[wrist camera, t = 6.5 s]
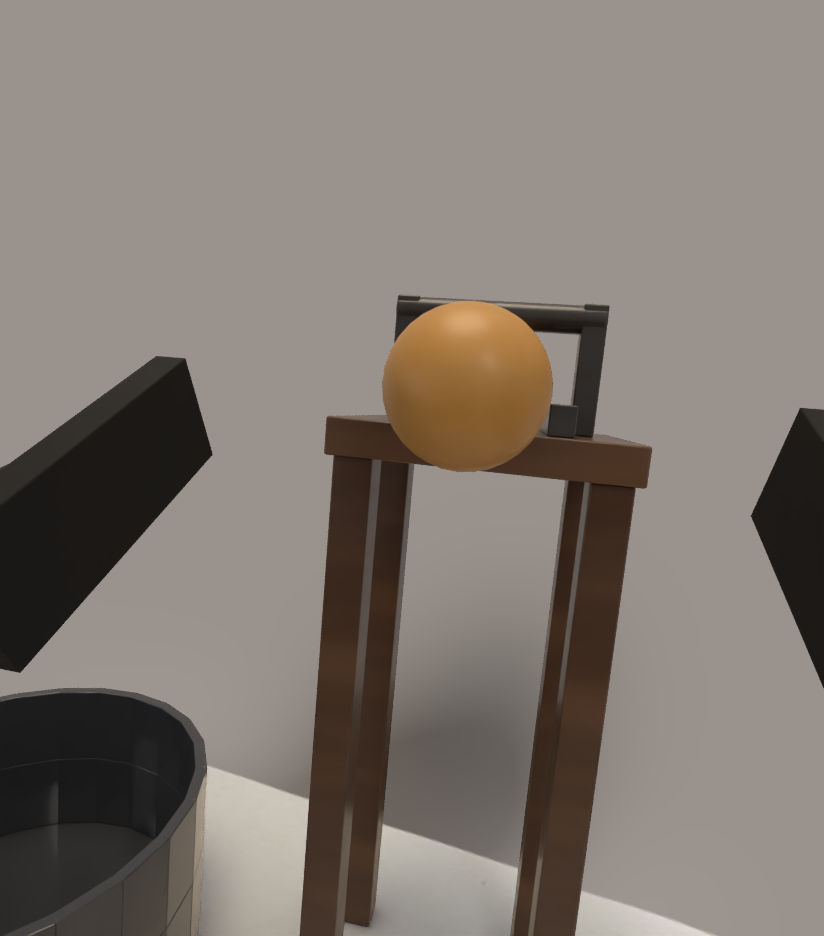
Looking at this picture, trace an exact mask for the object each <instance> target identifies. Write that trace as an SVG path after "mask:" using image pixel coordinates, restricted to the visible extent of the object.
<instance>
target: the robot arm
mask: <svg viewBox="0 0 824 936" xmlns="http://www.w3.org/2000/svg"><path fill="white" fill-rule="evenodd" d="M211 456H212V451H211V447H210V444H209V440H208V437H207V433H206V429H205V426H204V423H203V419H202V416H201V412H200V409H199V405H198V402H197V398H196V394H195V391H194V387H193V384H192V380H191V377H190V373H189V370H188V367H187V363H186V359H184V358H173V357H160V356H156V357H155V358H153V359H152V360H150V361H149V362H148V363H146V364H145V365H144V366H142V367H141V368H140V369H138V370H137V371H135V372H134V373H133V374H131V375H130V376H129V377H127V378H126V379H124V380H123V381H122V382H120V383H119V384H118V385H116V386H115V387H114V388H112V389H111V390H110V391H108V392H107V393H105V394H104V395H103V396H101V397H100V398H98V399H97V400H96V401H94V402H93V403H92V404H90V405H89V406H88V407H86V408H85V409H84V410H82V411H81V412H79V413H78V414H77V415H75V416H74V417H73V418H71V419H70V420H68V421H67V422H66V423H64V424H63V425H62V426H60V427H59V428H57V429H56V430H55V431H53V432H52V433H51V434H49V435H48V436H47V437H45V438H44V439H43V440H41V441H40V442H38V443H37V444H36V445H34V446H33V447H32V448H30V449H29V450H27V451H26V452H25V453H23V454H22V455H21V456H19V457H18V458H17V459H15V460H14V461H12V462H11V463H10V464H8V465H6V466H3V467H1V468H0V669H4V670H9V671H14V672H19V673H20V672H21V671H22V670H23V669H24V668H25V667H26V666H27V665H28V663H29V662H30V661H31V660H32V659H33V658H34V657H35V655H36V654H37V653H38V652H39V651H40V650H41V649H42V647H43V646H44V645H45V644H46V643H47V642H48V641H49V640H50V638H51V637H52V636H53V635H54V634H55V633H56V632H57V630H58V629H59V628H60V627H61V626H62V625H63V624H64V622H65V621H66V620H67V619H68V618H69V617H70V616H71V614H72V613H73V612H74V611H75V610H76V609H77V608H78V607H79V605H80V604H81V603H82V602H83V601H84V600H85V599H86V597H87V596H88V595H89V594H90V593H91V592H92V591H93V589H94V588H95V587H96V586H97V585H98V584H99V583H100V582H101V581H102V579H103V578H104V577H105V576H106V575H107V574H108V573H109V571H110V570H111V569H112V568H113V567H114V566H115V565H116V563H117V562H118V561H119V560H120V559H121V558H122V557H123V555H124V554H125V553H126V552H127V551H128V550H129V549H130V548H131V547H132V545H133V544H134V543H135V542H136V541H137V540H138V538H139V537H140V536H141V535H142V534H143V533H144V532H145V531H146V529H147V528H148V527H149V526H150V525H151V524H152V523H153V522H154V520H155V519H156V518H157V517H158V516H159V515H160V513H161V512H162V511H163V510H164V509H165V508H166V507H167V506H168V504H169V503H170V502H171V501H172V500H173V499H174V498H175V496H176V495H177V494H178V493H179V492H180V491H181V490H182V489H183V487H184V486H185V485H186V484H187V483H188V482H189V481H190V480H191V478H192V477H193V476H194V475H195V474H196V473H197V472H198V470H199V469H200V468H201V467H202V466H203V465H204V464H205V462H206V461H207V460H208V459H209V458H210V457H211ZM751 517H752V520H753V522H754V524H755V527H756V529H757V531H758V534H759V536H760V539H761V541H762V543H763V546H764V548H765V550H766V553H767V555H768V557H769V560H770V562H771V565H772V567H773V569H774V572H775V574H776V576H777V579H778V581H779V583H780V586H781V588H782V591H783V593H784V595H785V598H786V600H787V602H788V605H789V607H790V609H791V612H792V614H793V616H794V619H795V622H796V624H797V626H798V629H799V631H800V633H801V636H802V638H803V640H804V643H805V645H806V648H807V650H808V652H809V655H810V657H811V659H812V662H813V664H814V667H815V669H816V671H817V673H818V676H819V678H820V680H821V683H822V686H823V688H824V410H819V409H807V408H800V410H799V412H798V414H797V416H796V418H795V421H794V423H793V425H792V427H791V429H790V431H789V434H788V436H787V438H786V440H785V442H784V445H783V447H782V449H781V451H780V453H779V456H778V458H777V460H776V462H775V464H774V467H773V469H772V471H771V473H770V475H769V478H768V480H767V482H766V484H765V486H764V488H763V491H762V493H761V495H760V497H759V499H758V502H757V504H756V506H755V508H754V510H753V513H752V515H751Z"/></svg>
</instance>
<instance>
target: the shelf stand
mask: <svg viewBox="0 0 824 936" xmlns="http://www.w3.org/2000/svg"><path fill="white" fill-rule="evenodd" d="M460 301H478V302H486V303H490V304H493V305H497V306H499V307H502V308H504V309H506V310H508V311H510V312H511V313H513V314H515V315H517V316H518V317H519V318H520V319H522V320H523V321H524V322H525V323H526V324H527V325H528V326H529V327H530V328H531V329H532V330H533V331H534V332H543V333H559V334H576V335H579V340H578V348H577V357H576V365H575V373H574V382H573V390H572V398H571V405H560V404H550V408H549V411H548V414H547V417H546V419H545V421H544V423H543V425H542V427H541V429H540V430H539V432H538V433H537V435H536V436H535V438H534V439H533V440H532V442H531V443H530V444H529V445H528V446H527V447H526V448H525V449H524V450H522V451H521V452H520V453H519V454H518V455H517V456H515V457H513V458H512V459H510V460H509V461H507V462H506V463H503V464H501V465H498V466H496V467H493V468H491V469H487V470H481V471H486V472H494V473H504V474H513V475H523V476H532V477H541V478H550V479H559V480H565V488H564V496H563V504H562V512H561V520H560V529H559V537H558V545H557V553H556V562H555V570H554V578H553V587H552V595H551V603H550V611H549V620H548V628H547V636H546V645H545V653H544V661H543V669H542V677H541V686H540V694H539V702H538V711H537V720H536V728H535V736H534V744H533V752H532V760H531V761H532V762H531V769H530V777H529V786H528V794H527V802H526V810H525V818H524V826H523V835H522V843H521V852H520V860H519V868H518V876H517V884H516V893H515V901H514V909H513V918H512V926H511V934H510V936H575V931H576V923H577V916H578V909H579V901H580V894H581V887H582V878H583V872H584V865H585V857H586V850H587V843H588V835H589V828H590V821H591V813H592V806H593V799H594V798H593V797H594V791H595V784H596V776H597V769H598V762H599V754H600V747H601V740H602V732H603V725H604V717H605V710H606V703H607V696H608V688H609V681H610V673H611V666H612V659H613V651H614V644H615V637H616V630H617V622H618V615H619V607H620V600H621V592H622V585H623V578H624V570H625V563H626V556H627V548H628V541H629V534H630V527H631V519H632V512H633V505H634V497H635V490H636V489H635V488H643V489H644V488H646V487H647V482H648V476H649V468H650V461H651V454H652V447H650V446H646V445H642V444H638V443H635V442H630V441H627V440H623V439H619V438H615V437H611V436H607V435H599V434H594V426H595V418H596V409H597V402H598V393H599V386H600V378H601V370H602V362H603V354H604V346H605V338H606V330H607V324H608V314H609V305H594V304H585V306H581V305H580V306H579V305H561V304H542V303H523V302H504V301H485V300H466V299H446V298H428V297H420V296H418V295H399V296H398V302H397V310H396V327H395V339H394V344H395V342H396V340H397V338H398V337H399V336H400V334H401V333H402V332H403V331H404V330H405V329H406V328H407V326H408V325H409V324H410V323H412V322H413V321H414V320H416V319H417V318H418V317H419V316H421V315H422V314H424V313H426V312H428V311H430V310H432V309H434V308H436V307H438V306H441V305H445V304H449V303H453V302H460ZM324 453H325V454H327V455H334V459H333V473H332V487H331V502H330V517H329V529H328V543H327V544H328V545H327V557H326V572H325V587H324V600H323V614H322V628H321V629H322V630H321V642H320V657H319V671H318V686H317V699H316V714H315V728H314V742H313V755H312V770H311V784H310V798H309V812H308V826H307V840H306V854H305V868H304V882H303V897H302V911H301V925H300V936H343V928H344V921H347V922H351V923H355V924H359V925H362V926H366V927H368V926H369V924H370V921H371V917H372V914H373V911H374V907H375V902H376V891H377V880H378V868H379V857H380V846H381V834H382V823H383V812H384V800H385V789H386V777H387V766H388V754H389V743H390V732H391V721H392V709H393V698H394V687H395V675H396V664H397V653H398V641H399V630H400V618H401V607H402V595H403V585H404V572H405V561H406V550H407V539H408V528H409V516H410V505H411V493H412V482H413V471H414V464H421V465H429V466H434V465H432V464H430V463H427V462H426V461H424V460H423V459H421V458H420V457H418V456H417V455H415V454H414V453H413V452H411V451H410V450H409V449H408V448H407V447H406V446H405V445H404V444H403V443H402V441H401V440H400V438H399V437H398V436H397V434H396V433H395V431H394V430H393V428H392V426H391V423H390V421H389V419H388V417H387V415H365V416H364V415H362V416H328V417H327V420H326V434H325V449H324Z"/></svg>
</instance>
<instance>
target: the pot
mask: <svg viewBox="0 0 824 936" xmlns="http://www.w3.org/2000/svg"><path fill="white" fill-rule="evenodd" d="M206 776H207V763H206V754H205V745H204V740H203V738H202V737H201V736H200V734H199V732H198V731H197V729H196V728H195V726H194V724H193V723H192V721H191V720H190V719H189V718H188V717H186V716H185V715H184V714H182V713H180V712H179V711H178V710H176V709H175V708H173V707H172V706H171V705H169V704H167V703H165V702H162V701H159V700H156V699H153V698H150V697H147V696H145V695H142V694H138V693H133V692H126V691H119V690H112V689H105V688H103V689H102V688H63V689H52V690H43V691H35V692H26V693H18V694H13V695H8V696H3V697H0V936H197V931H198V924H199V920H200V904H201V882H202V861H203V840H204V818H205V797H206Z"/></svg>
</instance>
